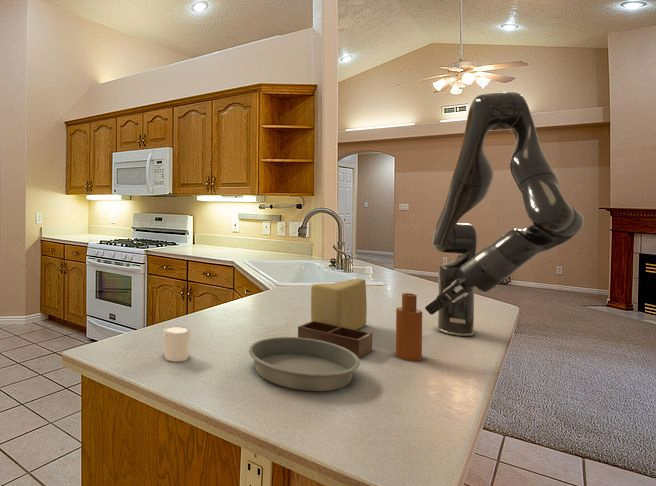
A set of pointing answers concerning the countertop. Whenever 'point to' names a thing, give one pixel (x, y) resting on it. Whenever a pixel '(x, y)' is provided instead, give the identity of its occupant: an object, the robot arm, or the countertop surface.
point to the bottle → (409, 329)
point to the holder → (338, 336)
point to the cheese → (340, 303)
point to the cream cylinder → (176, 343)
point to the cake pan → (304, 363)
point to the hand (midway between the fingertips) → (433, 308)
